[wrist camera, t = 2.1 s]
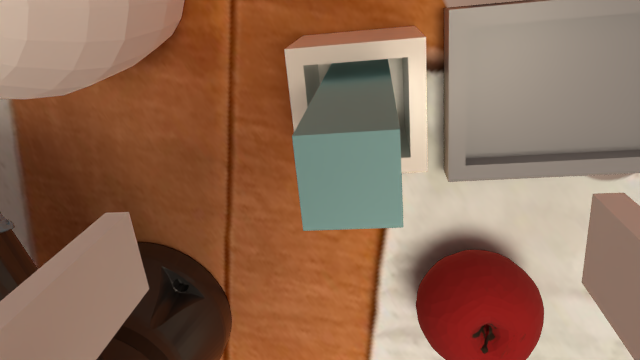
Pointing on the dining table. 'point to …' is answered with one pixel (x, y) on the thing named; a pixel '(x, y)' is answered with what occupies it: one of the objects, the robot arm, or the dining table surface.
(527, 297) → the apple
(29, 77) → the bottle
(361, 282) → the dining table surface
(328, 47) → the white open box
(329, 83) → the peg
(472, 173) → the tray
